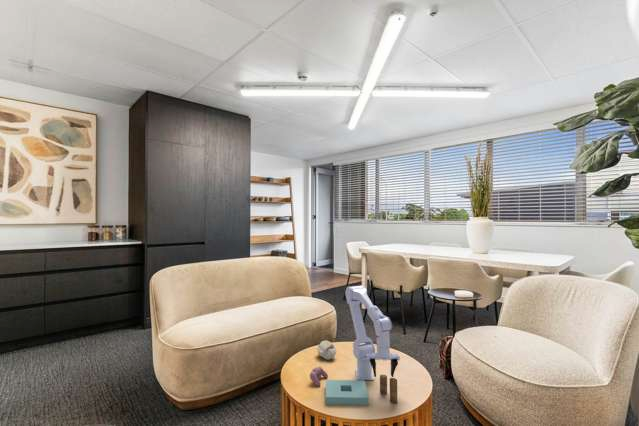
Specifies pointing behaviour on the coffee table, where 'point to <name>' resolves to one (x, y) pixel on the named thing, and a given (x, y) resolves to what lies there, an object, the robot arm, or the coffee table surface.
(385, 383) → the short pin
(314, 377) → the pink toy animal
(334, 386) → the block
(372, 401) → the coffee table surface
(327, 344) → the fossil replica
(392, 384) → the tall pin
